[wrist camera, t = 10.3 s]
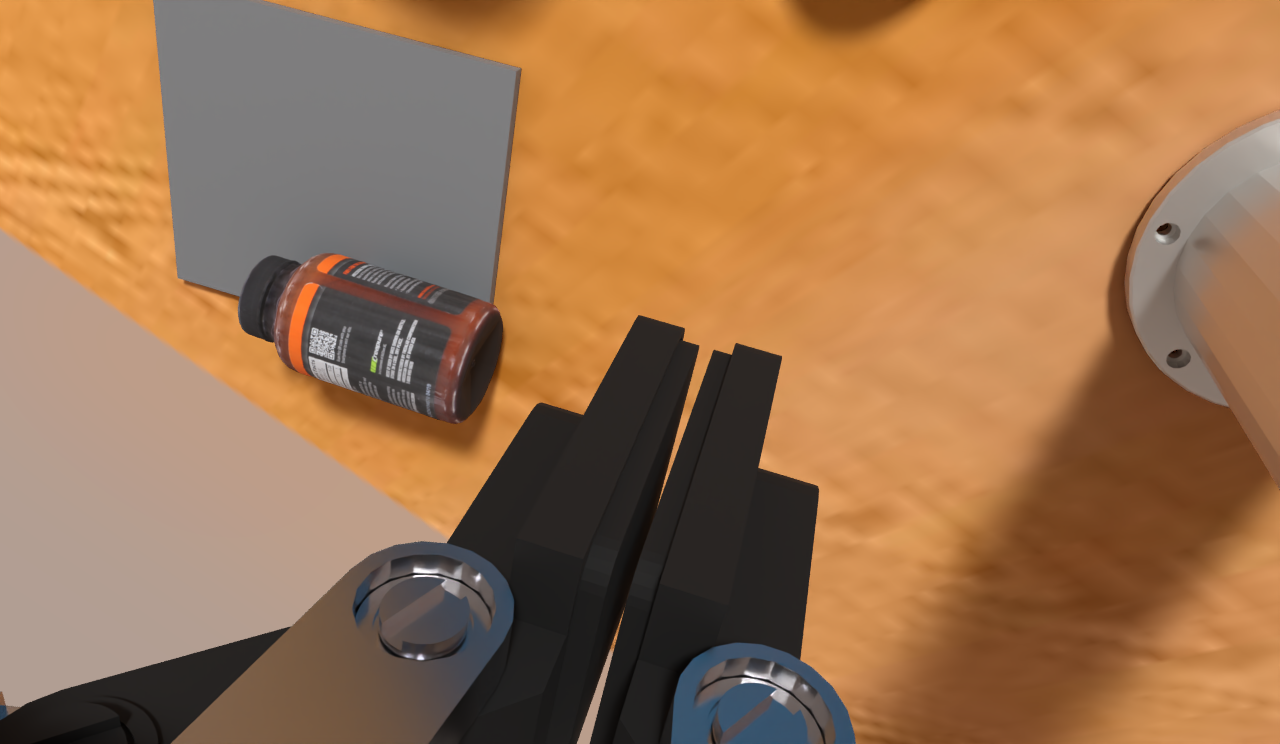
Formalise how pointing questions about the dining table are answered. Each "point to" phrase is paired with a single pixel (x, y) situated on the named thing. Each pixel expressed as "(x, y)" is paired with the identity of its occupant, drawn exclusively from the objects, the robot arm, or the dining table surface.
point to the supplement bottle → (375, 332)
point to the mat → (330, 145)
